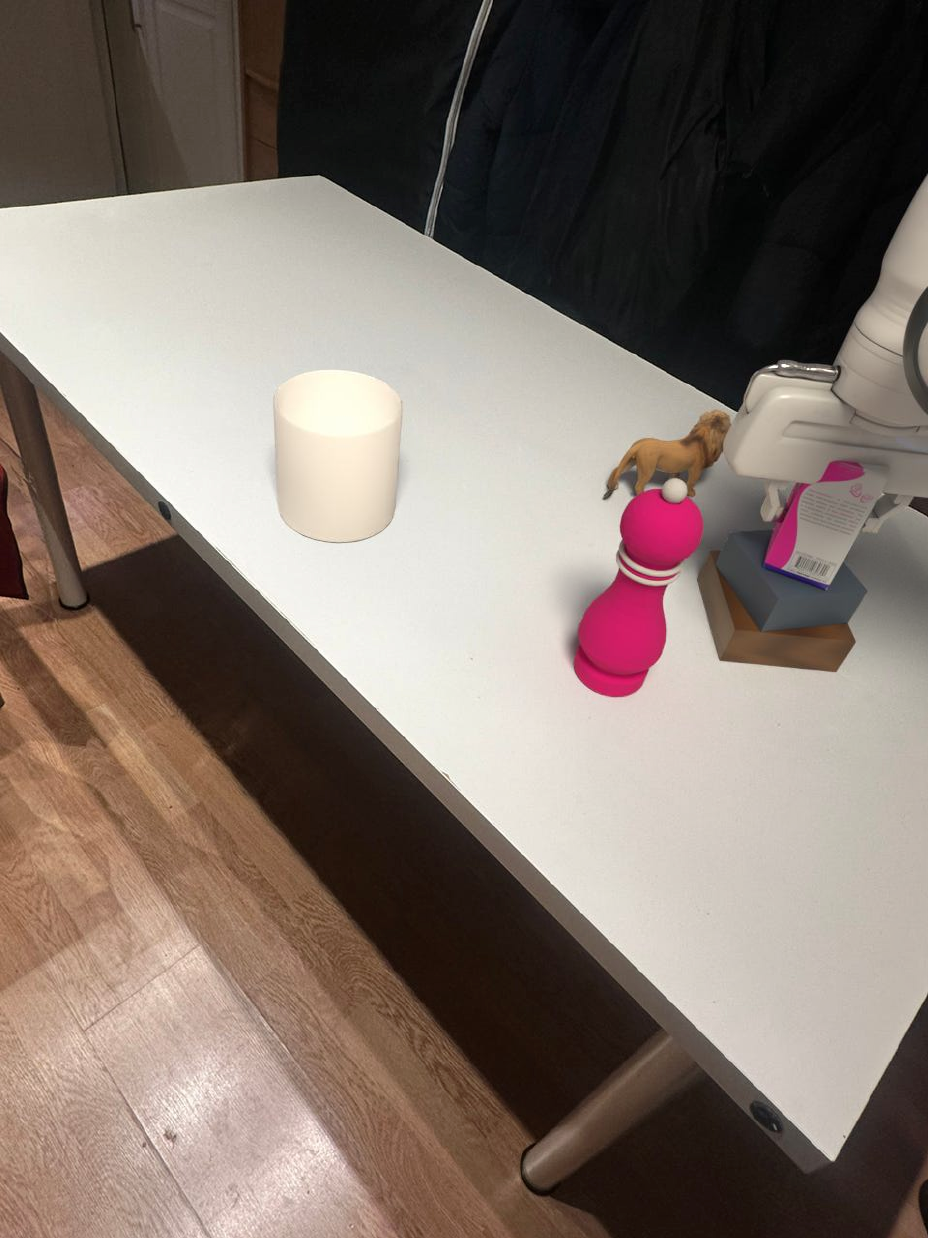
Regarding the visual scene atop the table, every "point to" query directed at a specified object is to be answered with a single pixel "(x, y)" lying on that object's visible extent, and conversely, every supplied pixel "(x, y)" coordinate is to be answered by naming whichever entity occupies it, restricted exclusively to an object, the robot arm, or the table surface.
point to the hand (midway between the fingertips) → (817, 523)
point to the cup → (337, 454)
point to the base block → (773, 648)
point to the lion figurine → (676, 453)
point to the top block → (784, 588)
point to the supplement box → (824, 522)
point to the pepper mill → (638, 591)
